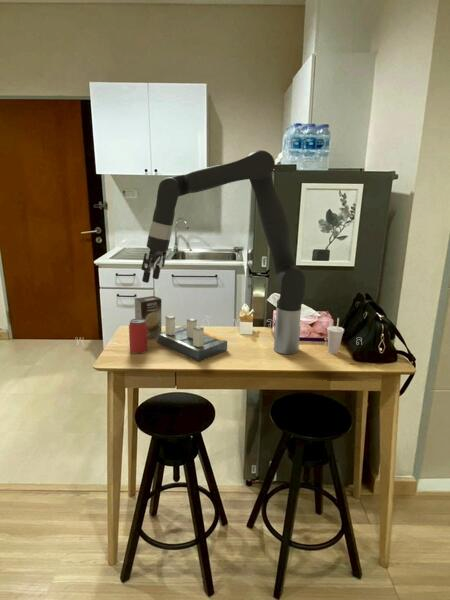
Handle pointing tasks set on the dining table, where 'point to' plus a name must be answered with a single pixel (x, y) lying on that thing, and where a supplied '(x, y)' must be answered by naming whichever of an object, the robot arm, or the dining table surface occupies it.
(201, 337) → the handle
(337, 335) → the smoothie
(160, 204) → the robot arm
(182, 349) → the panel
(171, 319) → the handle
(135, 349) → the beer can
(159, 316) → the coffee box
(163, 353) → the dining table surface
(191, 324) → the handle
